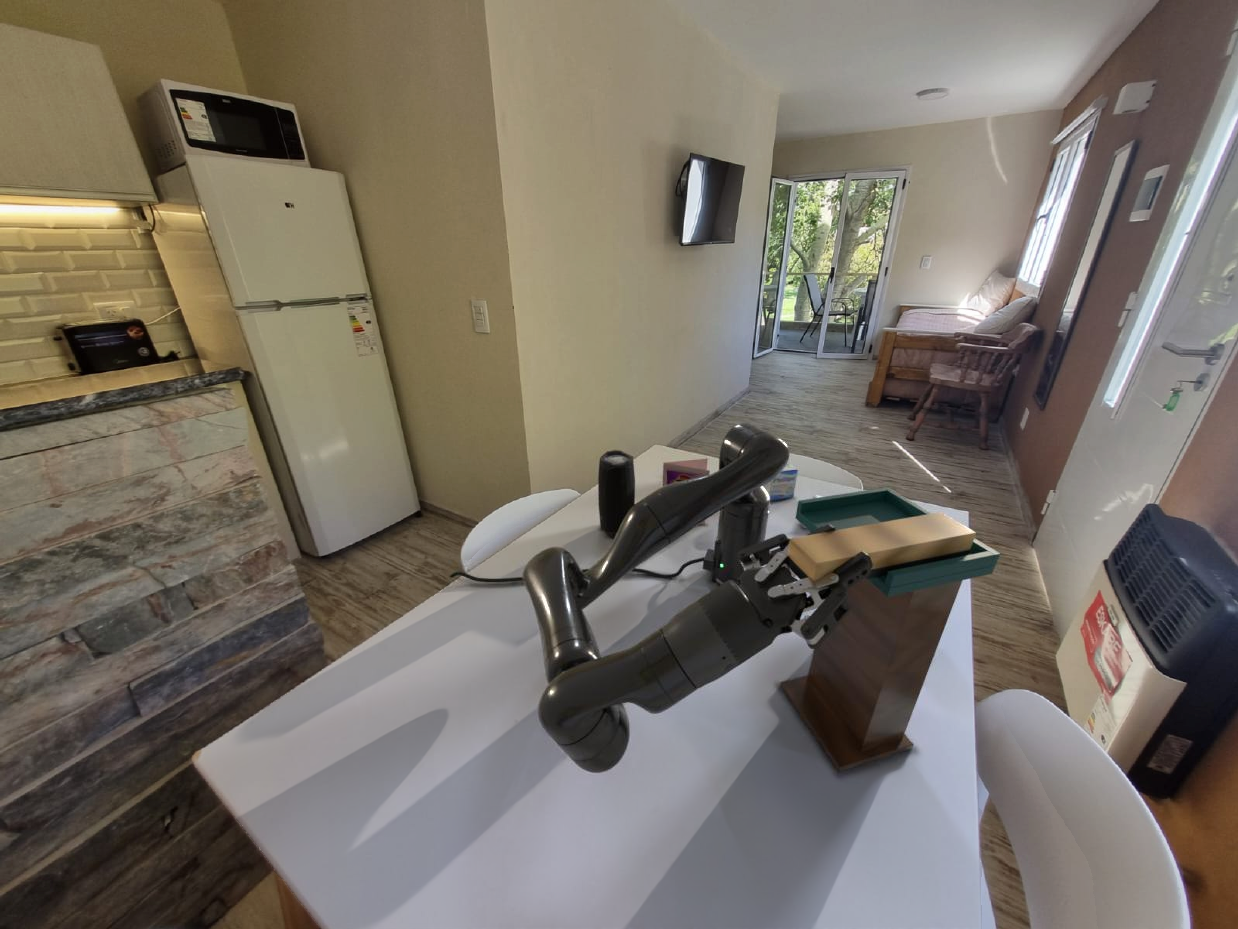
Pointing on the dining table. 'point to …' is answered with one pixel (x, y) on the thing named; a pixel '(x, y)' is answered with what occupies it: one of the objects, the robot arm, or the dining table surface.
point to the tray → (890, 507)
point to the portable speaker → (615, 489)
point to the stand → (871, 672)
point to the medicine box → (783, 484)
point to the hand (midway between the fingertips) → (850, 544)
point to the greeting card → (684, 471)
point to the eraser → (881, 545)
